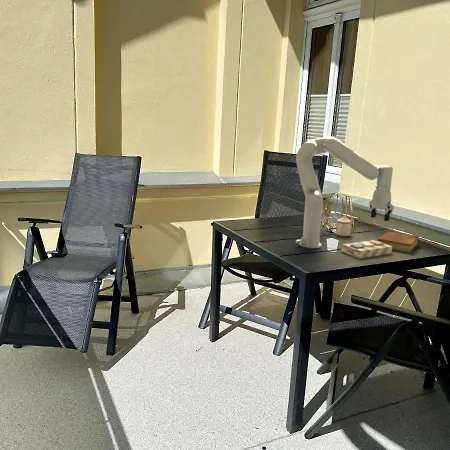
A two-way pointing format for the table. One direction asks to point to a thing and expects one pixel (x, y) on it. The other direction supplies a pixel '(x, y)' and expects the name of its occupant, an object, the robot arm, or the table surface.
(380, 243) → the key terracotta
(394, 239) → the diary
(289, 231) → the table surface
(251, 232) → the table surface
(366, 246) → the key offwhite
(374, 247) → the beige flat block
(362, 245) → the key slate
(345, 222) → the teacup with lid
